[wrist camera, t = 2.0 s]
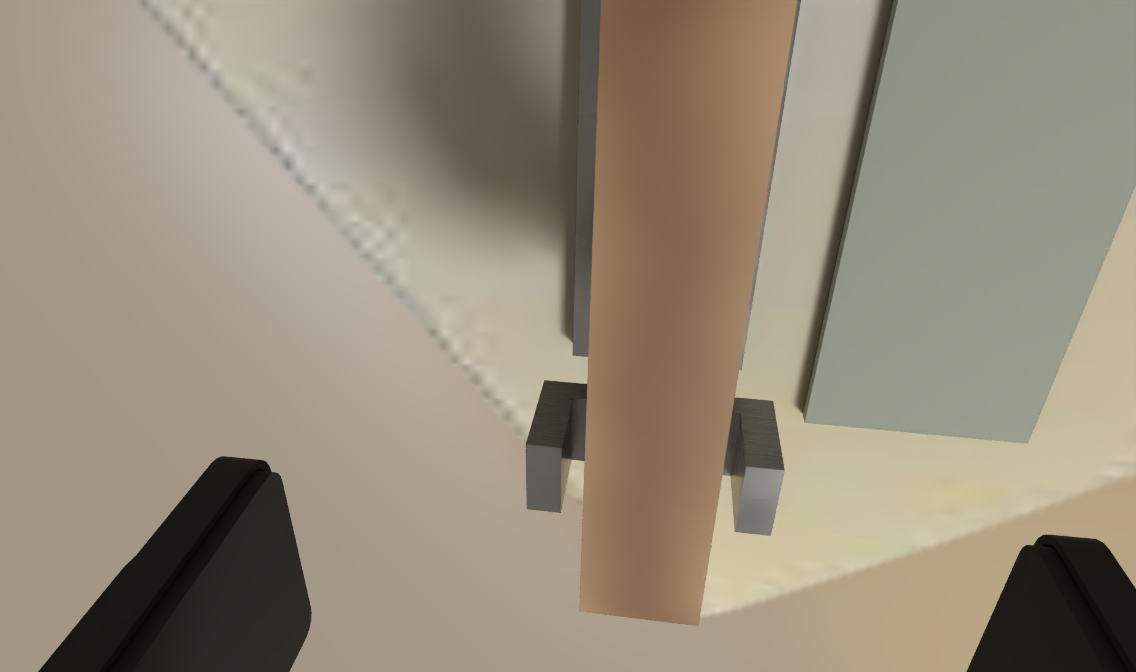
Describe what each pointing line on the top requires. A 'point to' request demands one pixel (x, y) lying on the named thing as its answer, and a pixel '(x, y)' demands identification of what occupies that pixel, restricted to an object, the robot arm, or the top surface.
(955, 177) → the mat
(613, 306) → the rail
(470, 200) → the top surface
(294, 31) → the top surface
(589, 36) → the stand
